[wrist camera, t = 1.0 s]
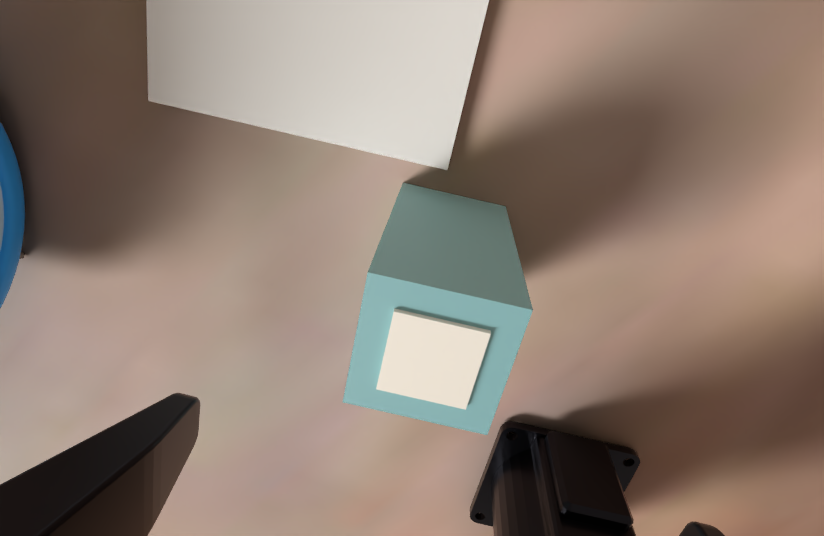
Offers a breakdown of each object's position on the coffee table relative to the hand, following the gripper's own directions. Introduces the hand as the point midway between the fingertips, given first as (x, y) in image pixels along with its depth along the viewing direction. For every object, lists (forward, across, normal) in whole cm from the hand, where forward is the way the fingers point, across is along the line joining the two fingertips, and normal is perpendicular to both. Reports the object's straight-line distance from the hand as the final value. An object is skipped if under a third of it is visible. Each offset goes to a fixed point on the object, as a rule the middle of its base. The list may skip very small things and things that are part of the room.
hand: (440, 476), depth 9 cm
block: (+12, 0, 0) cm, 12 cm away
